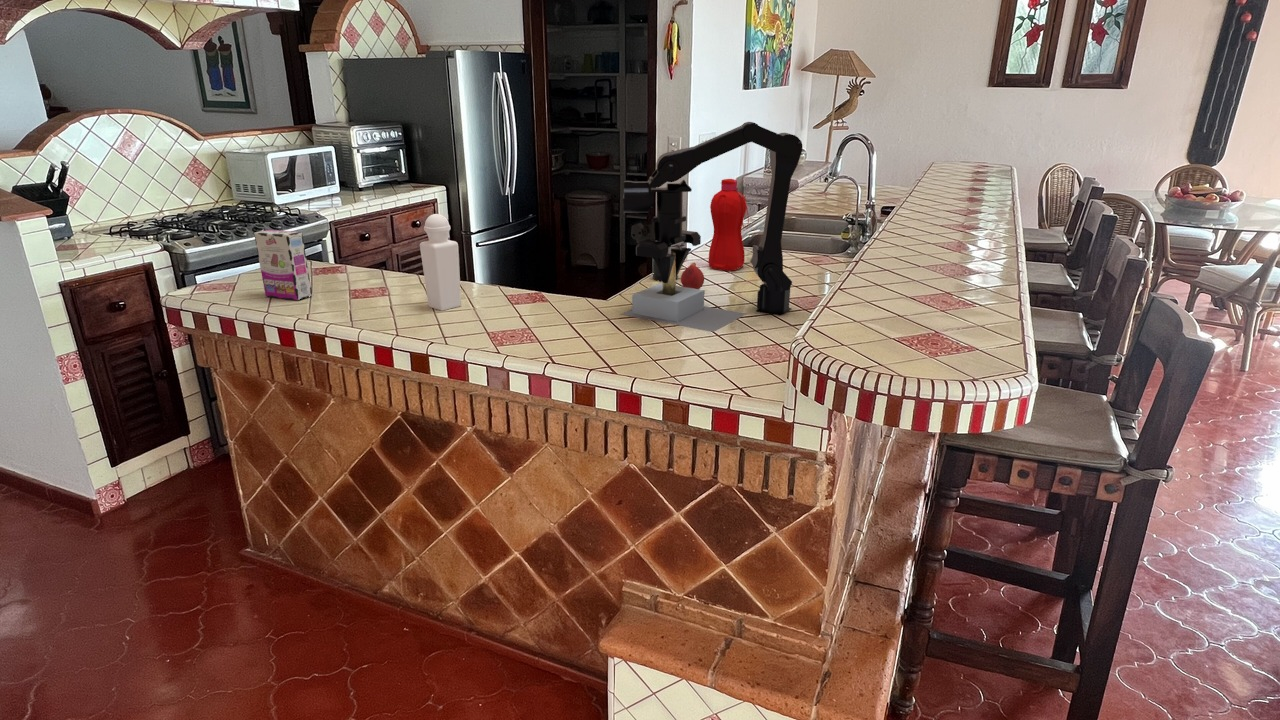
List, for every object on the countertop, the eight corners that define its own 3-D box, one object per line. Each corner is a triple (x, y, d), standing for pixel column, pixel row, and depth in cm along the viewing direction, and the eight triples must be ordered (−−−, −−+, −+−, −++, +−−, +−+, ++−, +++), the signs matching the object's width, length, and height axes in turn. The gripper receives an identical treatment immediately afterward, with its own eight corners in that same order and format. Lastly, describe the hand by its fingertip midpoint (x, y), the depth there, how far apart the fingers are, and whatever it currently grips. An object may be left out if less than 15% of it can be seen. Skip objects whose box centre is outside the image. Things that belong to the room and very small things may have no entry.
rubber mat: (746, 315, 169) (746, 313, 169) (713, 334, 157) (713, 331, 156) (657, 300, 182) (657, 298, 181) (620, 316, 169) (620, 314, 169)
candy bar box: (313, 296, 187) (303, 231, 181) (298, 301, 182) (287, 235, 177) (280, 292, 191) (269, 228, 185) (264, 297, 186) (252, 231, 181)
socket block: (703, 308, 173) (704, 290, 171) (677, 321, 163) (677, 302, 162) (660, 301, 179) (660, 283, 177) (632, 313, 170) (632, 294, 168)
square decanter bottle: (464, 306, 178) (456, 213, 170) (440, 312, 173) (431, 217, 166) (449, 301, 182) (440, 210, 174) (425, 306, 177) (415, 214, 170)
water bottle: (739, 273, 207) (742, 182, 198) (704, 269, 213) (706, 179, 204) (753, 267, 214) (757, 178, 206) (719, 262, 220) (722, 176, 211)
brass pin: (677, 295, 170) (678, 252, 167) (671, 298, 168) (671, 255, 164) (666, 293, 172) (667, 251, 168) (659, 296, 169) (660, 253, 166)
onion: (695, 297, 184) (696, 266, 181) (676, 294, 187) (676, 263, 184) (708, 293, 188) (708, 261, 185) (689, 289, 191) (689, 258, 188)
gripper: (660, 204, 175) (660, 268, 180) (615, 215, 160) (616, 285, 166) (702, 207, 169) (700, 274, 174) (658, 219, 154) (658, 292, 160)
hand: (669, 281), depth 169 cm, fingers closed on brass pin, 3 cm apart
